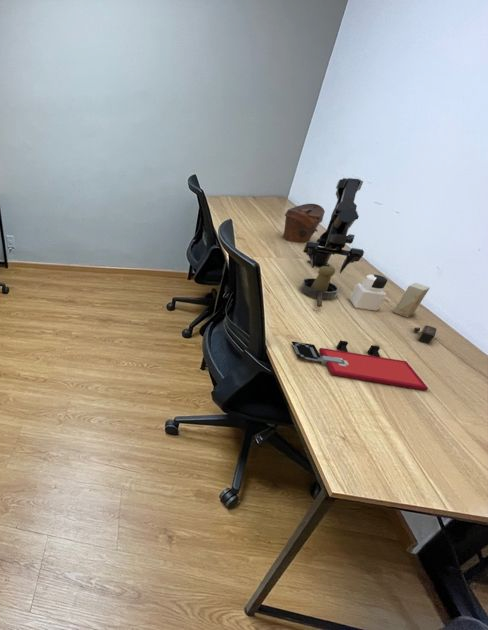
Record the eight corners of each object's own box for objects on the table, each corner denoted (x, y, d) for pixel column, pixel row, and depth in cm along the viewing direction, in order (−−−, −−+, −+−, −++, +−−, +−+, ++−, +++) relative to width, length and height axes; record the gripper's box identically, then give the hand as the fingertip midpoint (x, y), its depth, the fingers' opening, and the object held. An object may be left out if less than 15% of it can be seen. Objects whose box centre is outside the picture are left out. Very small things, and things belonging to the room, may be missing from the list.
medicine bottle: (370, 301, 131) (385, 273, 125) (377, 311, 126) (394, 282, 119) (348, 299, 133) (362, 271, 127) (354, 308, 128) (370, 279, 121)
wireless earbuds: (431, 335, 113) (437, 327, 111) (429, 344, 108) (434, 336, 107) (413, 329, 115) (418, 321, 114) (410, 338, 111) (415, 330, 110)
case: (279, 242, 186) (291, 209, 176) (276, 231, 202) (286, 200, 192) (317, 246, 180) (331, 213, 171) (310, 234, 196) (322, 203, 186)
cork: (328, 296, 134) (340, 271, 129) (312, 295, 136) (323, 270, 130) (322, 289, 139) (333, 264, 134) (306, 288, 141) (316, 263, 135)
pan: (300, 283, 145) (303, 276, 143) (334, 290, 139) (338, 282, 137) (299, 295, 136) (302, 287, 134) (335, 303, 131) (339, 295, 129)
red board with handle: (288, 340, 110) (301, 370, 98) (291, 333, 109) (305, 363, 97) (397, 356, 104) (425, 391, 92) (402, 349, 102) (431, 384, 90)
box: (406, 317, 122) (423, 290, 116) (392, 312, 125) (408, 285, 119) (413, 313, 124) (430, 287, 118) (399, 308, 127) (415, 282, 121)
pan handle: (316, 294, 133) (318, 290, 132) (321, 295, 132) (322, 291, 131) (315, 307, 124) (317, 303, 124) (320, 308, 124) (322, 304, 123)
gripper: (315, 221, 133) (303, 256, 131) (374, 229, 125) (363, 267, 123) (308, 235, 143) (297, 268, 141) (363, 243, 134) (352, 278, 132)
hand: (326, 270), depth 134 cm, fingers open, 9 cm apart
